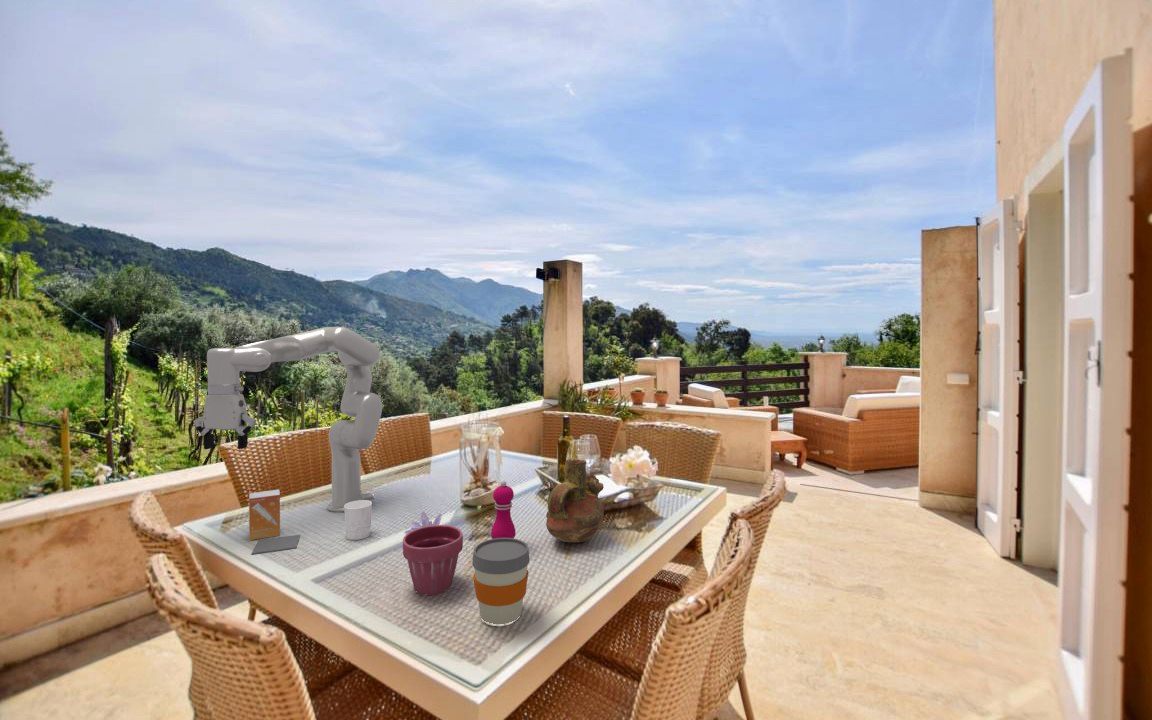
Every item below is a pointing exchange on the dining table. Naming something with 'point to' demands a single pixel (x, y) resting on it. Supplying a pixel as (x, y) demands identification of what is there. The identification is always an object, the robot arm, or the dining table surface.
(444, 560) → the plant pot
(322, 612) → the dining table surface
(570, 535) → the ceramic vessel
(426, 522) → the water lily
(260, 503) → the small box
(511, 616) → the reusable coffee cup
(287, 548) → the mat
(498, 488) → the pepper mill
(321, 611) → the dining table surface
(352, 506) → the white cup
